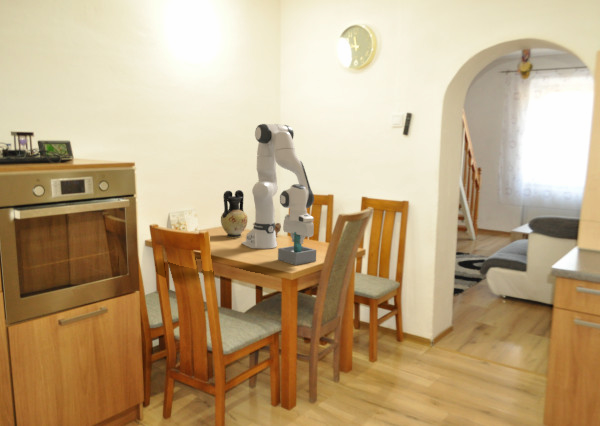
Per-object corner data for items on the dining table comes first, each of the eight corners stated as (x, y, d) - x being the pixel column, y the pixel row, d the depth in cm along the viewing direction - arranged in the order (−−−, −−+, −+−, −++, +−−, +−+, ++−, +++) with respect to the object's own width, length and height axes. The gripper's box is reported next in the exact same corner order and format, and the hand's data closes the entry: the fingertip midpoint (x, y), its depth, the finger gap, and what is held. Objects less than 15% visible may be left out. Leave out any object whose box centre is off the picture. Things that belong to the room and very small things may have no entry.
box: (277, 259, 243) (278, 248, 242) (298, 256, 252) (298, 245, 251) (295, 265, 232) (295, 253, 232) (315, 261, 242) (316, 249, 241)
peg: (292, 254, 242) (292, 231, 240) (297, 253, 245) (298, 230, 243) (297, 255, 239) (297, 232, 237) (303, 254, 242) (303, 231, 240)
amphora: (233, 233, 313) (233, 188, 309) (252, 236, 304) (253, 190, 300) (214, 236, 299) (214, 190, 295) (234, 240, 289) (235, 192, 285)
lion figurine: (278, 235, 309) (278, 222, 308) (282, 236, 305) (283, 223, 304) (259, 237, 301) (259, 223, 299) (263, 239, 296) (264, 225, 295)
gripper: (280, 214, 245) (280, 240, 247) (306, 219, 229) (306, 246, 231) (289, 213, 249) (289, 239, 251) (316, 218, 234) (315, 245, 236)
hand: (297, 242), depth 241 cm, fingers closed on peg, 4 cm apart
